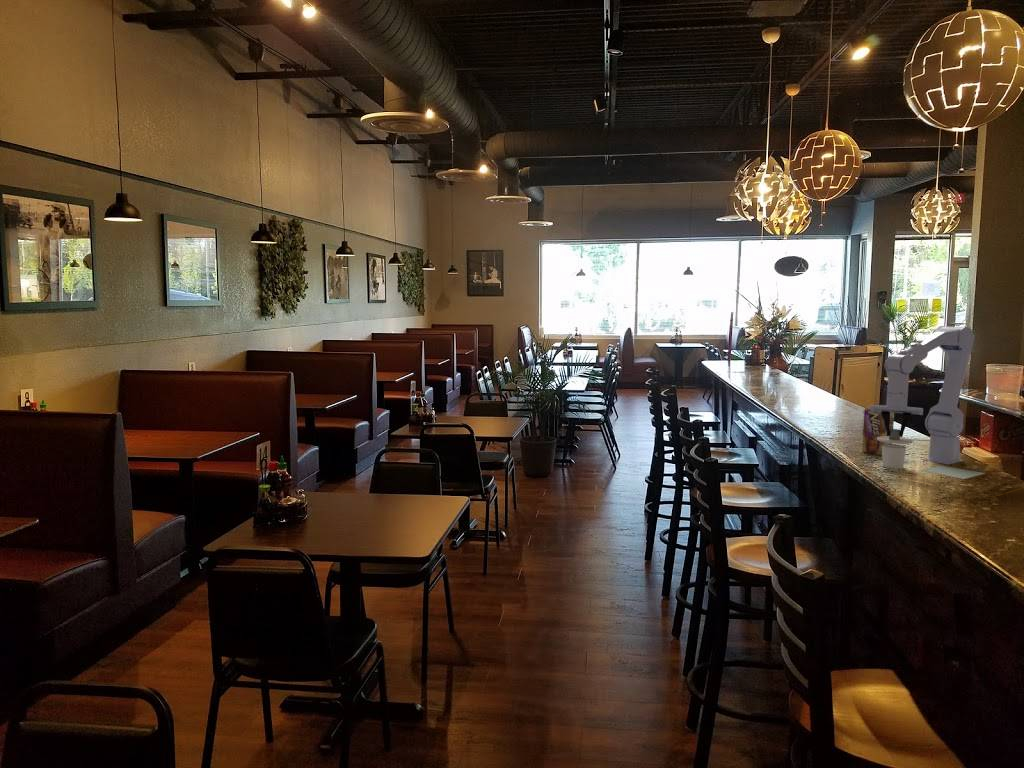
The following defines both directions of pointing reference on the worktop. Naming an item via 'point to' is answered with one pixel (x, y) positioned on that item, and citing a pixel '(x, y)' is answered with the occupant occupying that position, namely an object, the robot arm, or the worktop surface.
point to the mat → (952, 472)
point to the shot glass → (893, 455)
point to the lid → (894, 438)
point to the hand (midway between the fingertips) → (894, 435)
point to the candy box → (874, 431)
